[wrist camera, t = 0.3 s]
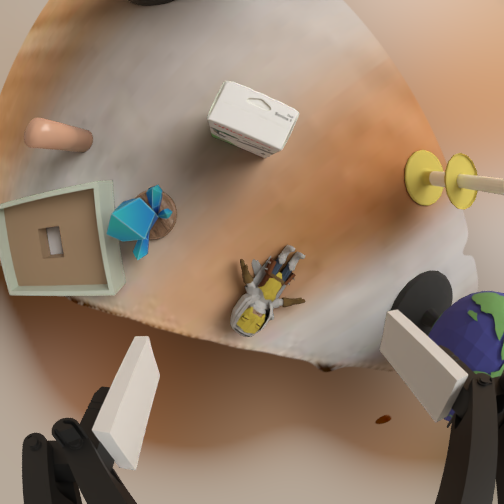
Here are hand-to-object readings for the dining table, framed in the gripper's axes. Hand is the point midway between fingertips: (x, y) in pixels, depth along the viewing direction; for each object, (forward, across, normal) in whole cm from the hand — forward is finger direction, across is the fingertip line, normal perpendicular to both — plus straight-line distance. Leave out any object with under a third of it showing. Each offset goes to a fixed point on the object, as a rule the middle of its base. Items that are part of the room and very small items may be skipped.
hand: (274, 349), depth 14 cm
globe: (+27, +35, -17) cm, 47 cm away
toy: (+28, +3, -8) cm, 29 cm away
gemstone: (+27, -13, +4) cm, 31 cm away
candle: (+27, +32, +9) cm, 43 cm away
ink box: (+28, +1, +15) cm, 31 cm away
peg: (+27, -24, +17) cm, 40 cm away
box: (+27, -31, +2) cm, 41 cm away
